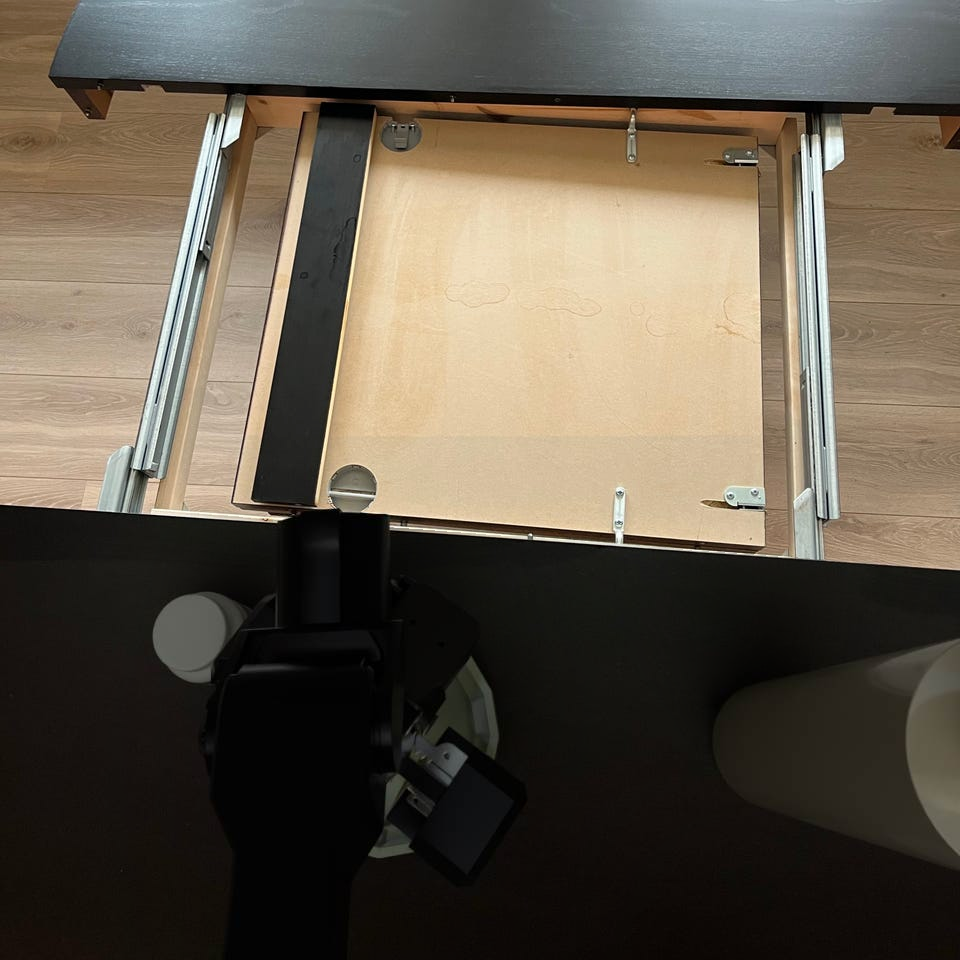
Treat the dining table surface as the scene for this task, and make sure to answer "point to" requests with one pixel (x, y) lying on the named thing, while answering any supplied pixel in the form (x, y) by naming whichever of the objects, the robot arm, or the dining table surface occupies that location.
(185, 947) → the dining table surface
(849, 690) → the vase
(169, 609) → the pill bottle
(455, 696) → the bowl
